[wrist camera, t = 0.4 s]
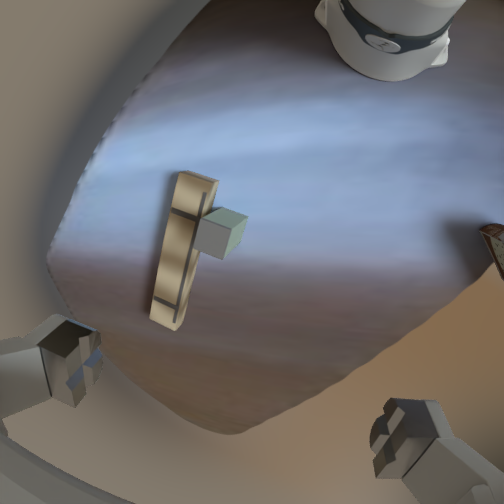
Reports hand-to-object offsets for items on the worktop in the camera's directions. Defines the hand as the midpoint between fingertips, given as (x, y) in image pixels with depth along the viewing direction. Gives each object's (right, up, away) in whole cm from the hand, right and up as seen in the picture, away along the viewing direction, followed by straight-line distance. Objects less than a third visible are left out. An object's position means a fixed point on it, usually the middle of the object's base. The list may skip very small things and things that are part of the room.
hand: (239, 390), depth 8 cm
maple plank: (-10, +3, +42) cm, 43 cm away
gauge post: (-3, +8, +39) cm, 40 cm away
